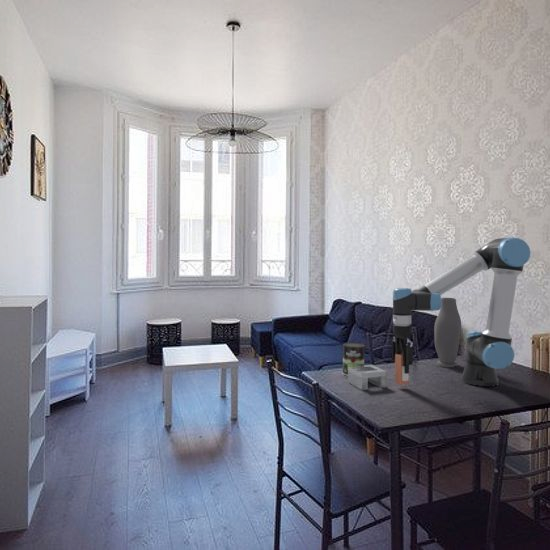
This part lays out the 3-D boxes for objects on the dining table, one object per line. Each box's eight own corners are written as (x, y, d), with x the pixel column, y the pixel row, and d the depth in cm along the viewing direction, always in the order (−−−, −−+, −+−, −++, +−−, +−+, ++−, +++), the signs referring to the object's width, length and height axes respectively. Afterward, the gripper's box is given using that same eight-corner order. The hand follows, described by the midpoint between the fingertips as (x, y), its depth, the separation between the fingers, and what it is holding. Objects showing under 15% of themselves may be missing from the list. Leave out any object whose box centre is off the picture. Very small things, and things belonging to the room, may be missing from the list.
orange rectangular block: (403, 381, 191) (403, 353, 190) (408, 383, 187) (408, 355, 186) (395, 382, 189) (395, 354, 189) (400, 384, 185) (400, 356, 185)
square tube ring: (371, 379, 201) (371, 364, 200) (386, 387, 189) (386, 371, 189) (347, 382, 197) (348, 366, 196) (361, 389, 185) (362, 373, 185)
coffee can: (363, 377, 204) (364, 347, 203) (341, 376, 206) (342, 346, 205) (364, 372, 214) (365, 343, 213) (343, 370, 216) (343, 342, 215)
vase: (442, 360, 238) (443, 296, 236) (465, 365, 228) (467, 298, 226) (429, 365, 229) (430, 298, 227) (452, 370, 219) (454, 300, 217)
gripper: (383, 322, 194) (383, 374, 195) (406, 328, 178) (406, 385, 179) (397, 321, 196) (397, 373, 197) (422, 327, 180) (422, 383, 181)
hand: (401, 379), depth 188 cm, fingers closed on orange rectangular block, 4 cm apart
